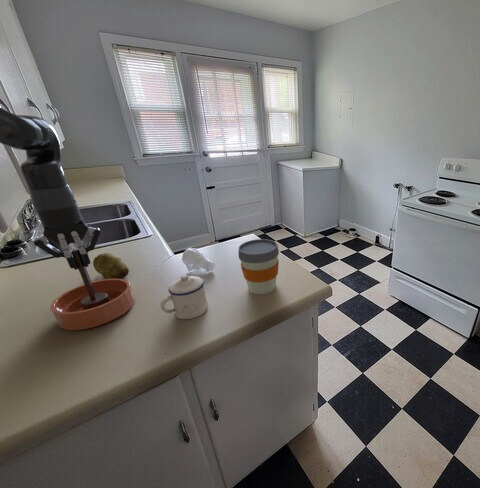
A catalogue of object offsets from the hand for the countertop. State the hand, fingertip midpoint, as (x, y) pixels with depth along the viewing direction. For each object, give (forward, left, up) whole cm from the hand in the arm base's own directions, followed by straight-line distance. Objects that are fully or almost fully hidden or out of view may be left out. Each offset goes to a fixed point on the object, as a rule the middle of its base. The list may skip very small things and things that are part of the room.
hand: (81, 267), depth 73 cm
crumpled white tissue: (+18, +26, -15) cm, 35 cm away
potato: (-12, +20, -15) cm, 28 cm away
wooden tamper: (0, 0, -13) cm, 13 cm away
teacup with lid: (+26, +1, -15) cm, 30 cm away
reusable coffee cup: (+44, +16, -15) cm, 49 cm away
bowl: (0, 0, -15) cm, 15 cm away
